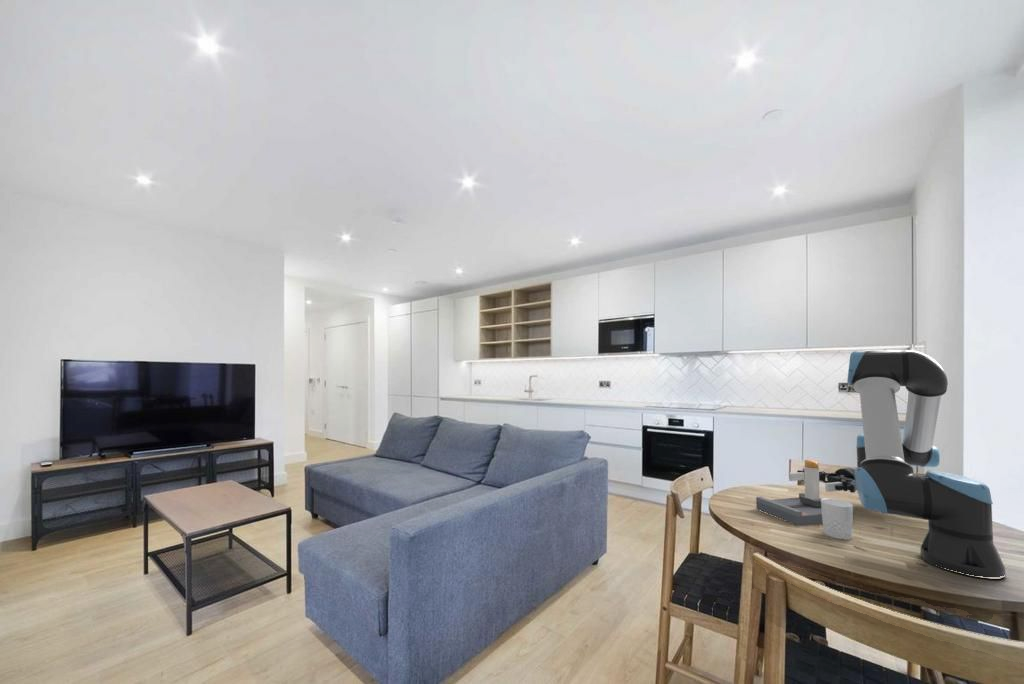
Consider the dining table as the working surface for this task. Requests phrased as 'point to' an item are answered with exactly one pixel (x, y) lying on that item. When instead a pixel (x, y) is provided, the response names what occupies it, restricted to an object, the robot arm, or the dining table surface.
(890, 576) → the dining table surface
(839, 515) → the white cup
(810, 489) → the breaker handle
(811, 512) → the base
